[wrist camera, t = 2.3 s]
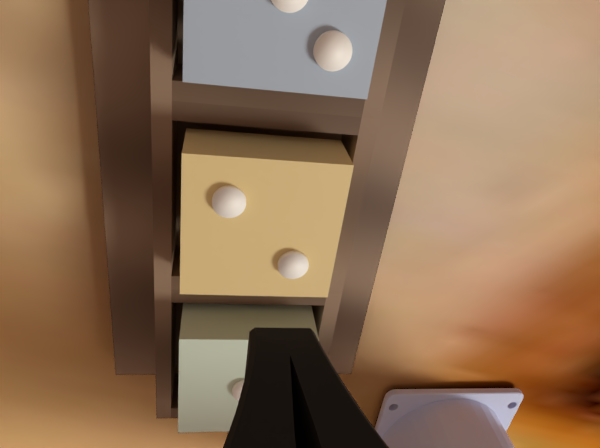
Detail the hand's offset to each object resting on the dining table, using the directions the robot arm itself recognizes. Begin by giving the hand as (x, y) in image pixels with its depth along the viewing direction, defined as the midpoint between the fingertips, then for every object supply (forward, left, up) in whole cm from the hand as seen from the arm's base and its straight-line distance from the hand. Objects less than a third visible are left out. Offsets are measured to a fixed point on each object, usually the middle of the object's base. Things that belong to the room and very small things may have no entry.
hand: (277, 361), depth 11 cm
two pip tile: (0, 0, -7) cm, 7 cm away
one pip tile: (-7, 0, -7) cm, 10 cm away
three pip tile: (+7, 0, -7) cm, 10 cm away
